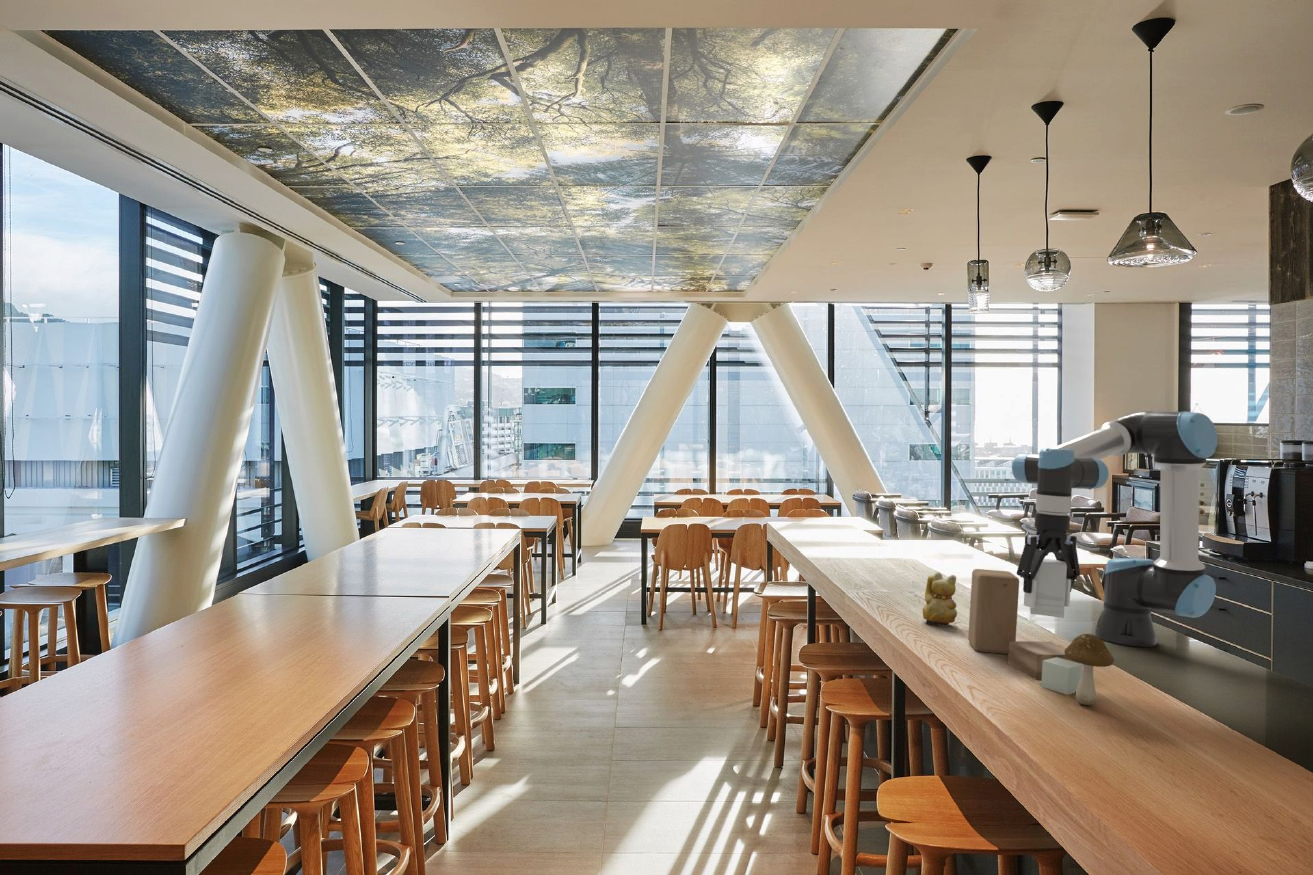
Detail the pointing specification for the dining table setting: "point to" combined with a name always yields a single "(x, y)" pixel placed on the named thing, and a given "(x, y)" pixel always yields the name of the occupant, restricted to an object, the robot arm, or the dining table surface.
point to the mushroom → (1088, 663)
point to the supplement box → (1050, 588)
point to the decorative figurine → (940, 600)
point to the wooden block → (993, 610)
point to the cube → (1061, 675)
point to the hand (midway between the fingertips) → (1046, 605)
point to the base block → (1033, 656)
